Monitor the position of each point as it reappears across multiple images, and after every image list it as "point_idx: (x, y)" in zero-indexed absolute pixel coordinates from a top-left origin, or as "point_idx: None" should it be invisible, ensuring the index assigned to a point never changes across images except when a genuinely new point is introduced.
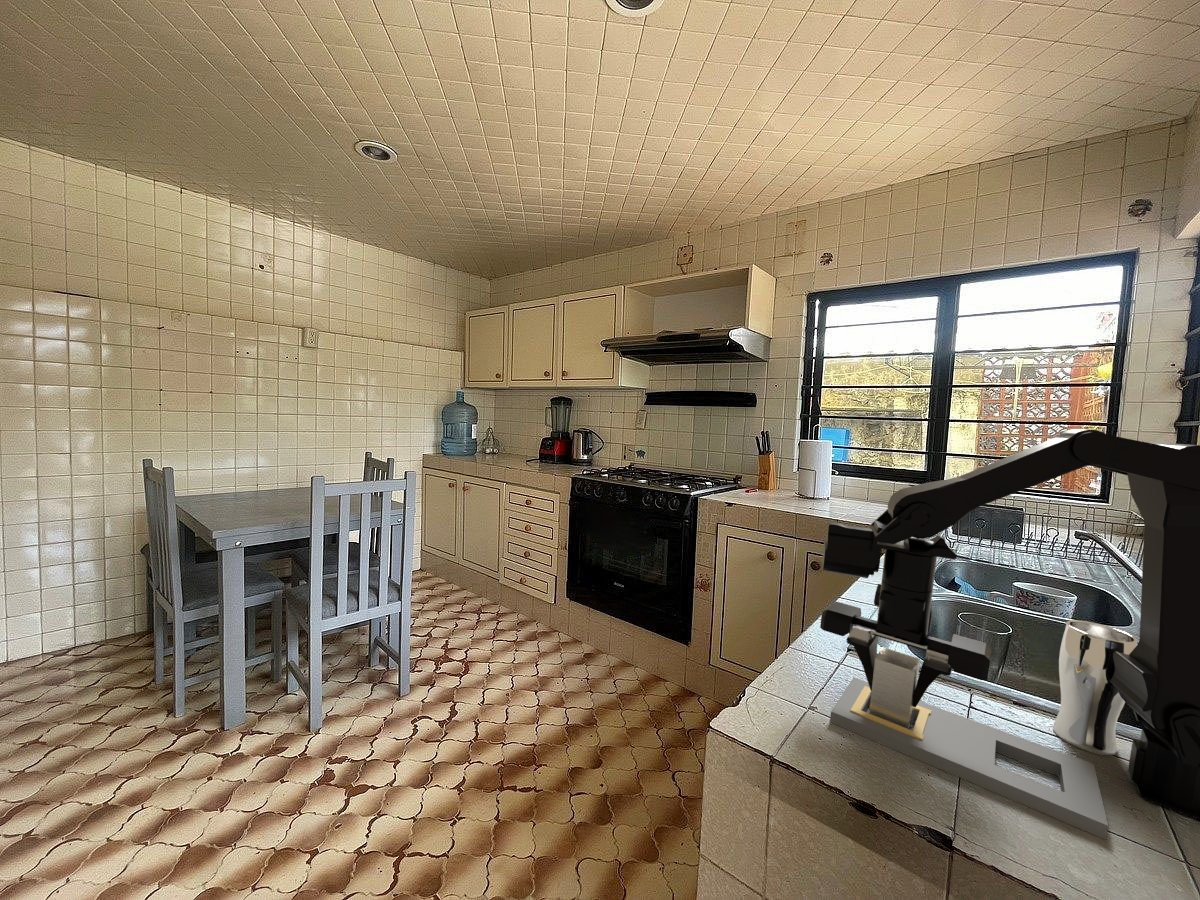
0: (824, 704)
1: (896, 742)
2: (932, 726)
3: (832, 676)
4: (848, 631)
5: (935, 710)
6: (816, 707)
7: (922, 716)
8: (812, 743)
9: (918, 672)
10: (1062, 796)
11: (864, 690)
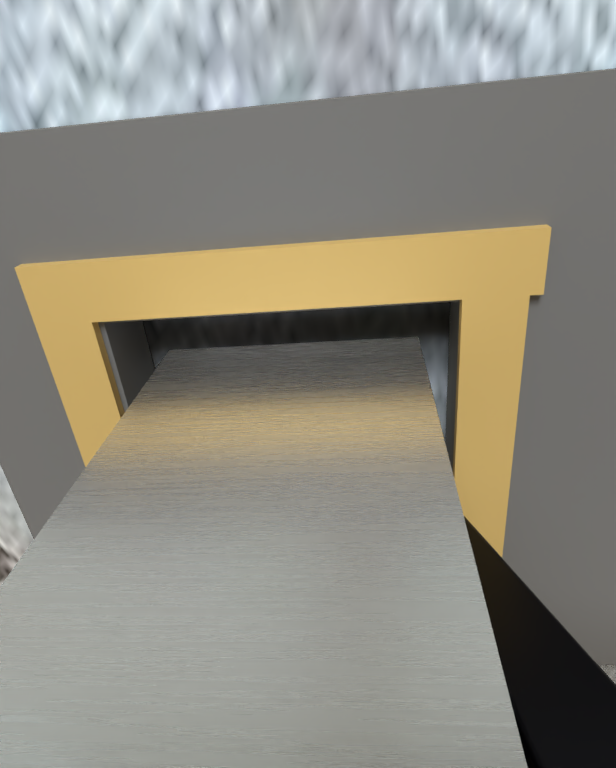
0: (3, 502)
1: None
2: (553, 441)
3: None
4: None
5: (582, 159)
6: (3, 550)
7: (487, 392)
8: None
9: (500, 676)
10: None
11: (57, 349)
